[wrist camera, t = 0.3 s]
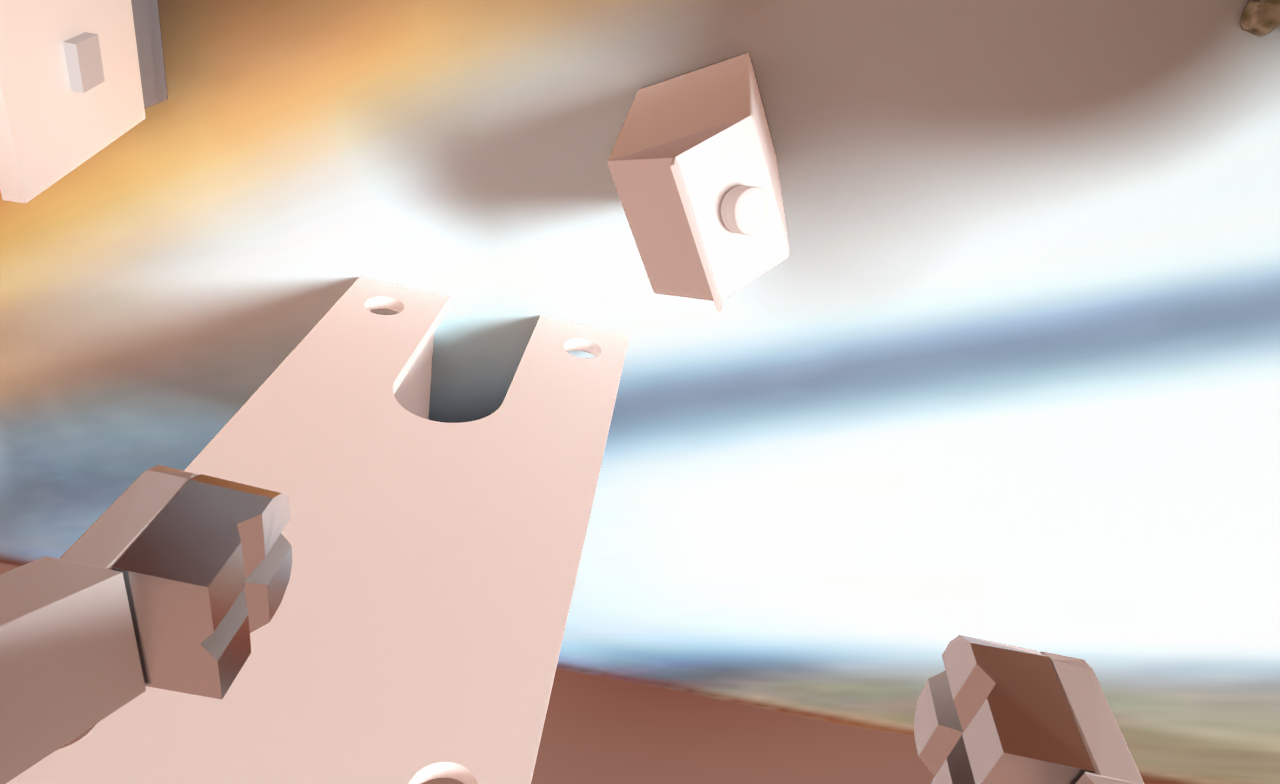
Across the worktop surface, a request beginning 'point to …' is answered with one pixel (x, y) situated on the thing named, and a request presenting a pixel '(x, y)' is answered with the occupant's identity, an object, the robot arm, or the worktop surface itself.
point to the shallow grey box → (149, 51)
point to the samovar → (1261, 16)
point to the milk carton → (701, 182)
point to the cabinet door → (63, 87)
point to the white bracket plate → (390, 566)
